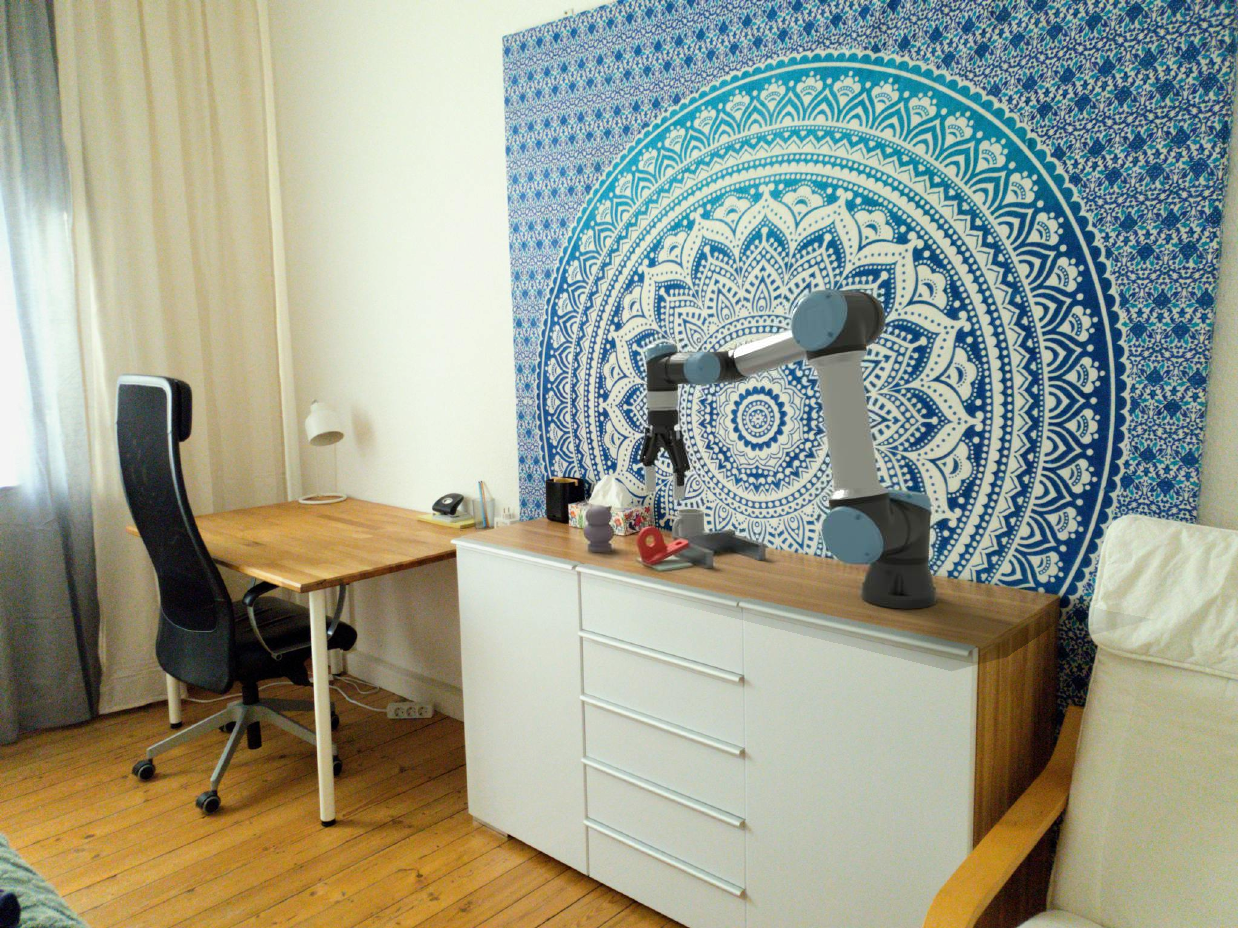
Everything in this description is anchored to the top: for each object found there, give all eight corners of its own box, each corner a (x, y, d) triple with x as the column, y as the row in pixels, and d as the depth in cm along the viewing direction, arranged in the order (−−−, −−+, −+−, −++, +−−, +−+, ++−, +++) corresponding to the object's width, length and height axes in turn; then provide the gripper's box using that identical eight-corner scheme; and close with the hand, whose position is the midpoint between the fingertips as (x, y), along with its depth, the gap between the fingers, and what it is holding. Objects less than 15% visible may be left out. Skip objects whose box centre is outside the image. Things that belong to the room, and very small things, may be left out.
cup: (709, 543, 238) (709, 511, 237) (682, 549, 232) (682, 516, 231) (690, 539, 244) (690, 507, 242) (664, 545, 237) (663, 512, 236)
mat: (692, 566, 214) (692, 564, 214) (660, 571, 210) (660, 568, 210) (667, 556, 225) (667, 554, 224) (636, 560, 220) (636, 558, 220)
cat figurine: (577, 549, 233) (576, 505, 232) (597, 544, 239) (596, 501, 237) (601, 554, 228) (600, 508, 226) (621, 548, 234) (620, 504, 232)
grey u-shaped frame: (765, 559, 220) (765, 539, 219) (706, 568, 212) (706, 548, 211) (721, 544, 237) (721, 526, 236) (665, 552, 229) (664, 533, 228)
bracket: (651, 565, 213) (642, 536, 211) (642, 561, 217) (633, 533, 215) (691, 545, 218) (683, 516, 216) (681, 542, 222) (673, 513, 220)
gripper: (704, 410, 203) (705, 501, 205) (650, 405, 225) (652, 487, 227) (676, 412, 199) (677, 504, 202) (624, 407, 221) (626, 490, 224)
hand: (664, 495), depth 215 cm, fingers open, 13 cm apart
